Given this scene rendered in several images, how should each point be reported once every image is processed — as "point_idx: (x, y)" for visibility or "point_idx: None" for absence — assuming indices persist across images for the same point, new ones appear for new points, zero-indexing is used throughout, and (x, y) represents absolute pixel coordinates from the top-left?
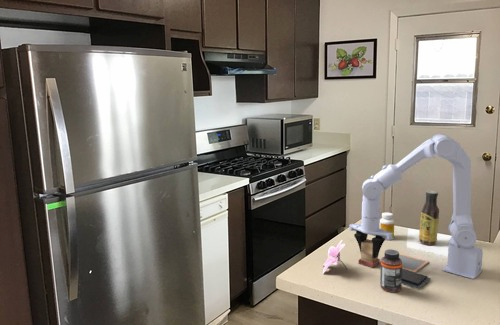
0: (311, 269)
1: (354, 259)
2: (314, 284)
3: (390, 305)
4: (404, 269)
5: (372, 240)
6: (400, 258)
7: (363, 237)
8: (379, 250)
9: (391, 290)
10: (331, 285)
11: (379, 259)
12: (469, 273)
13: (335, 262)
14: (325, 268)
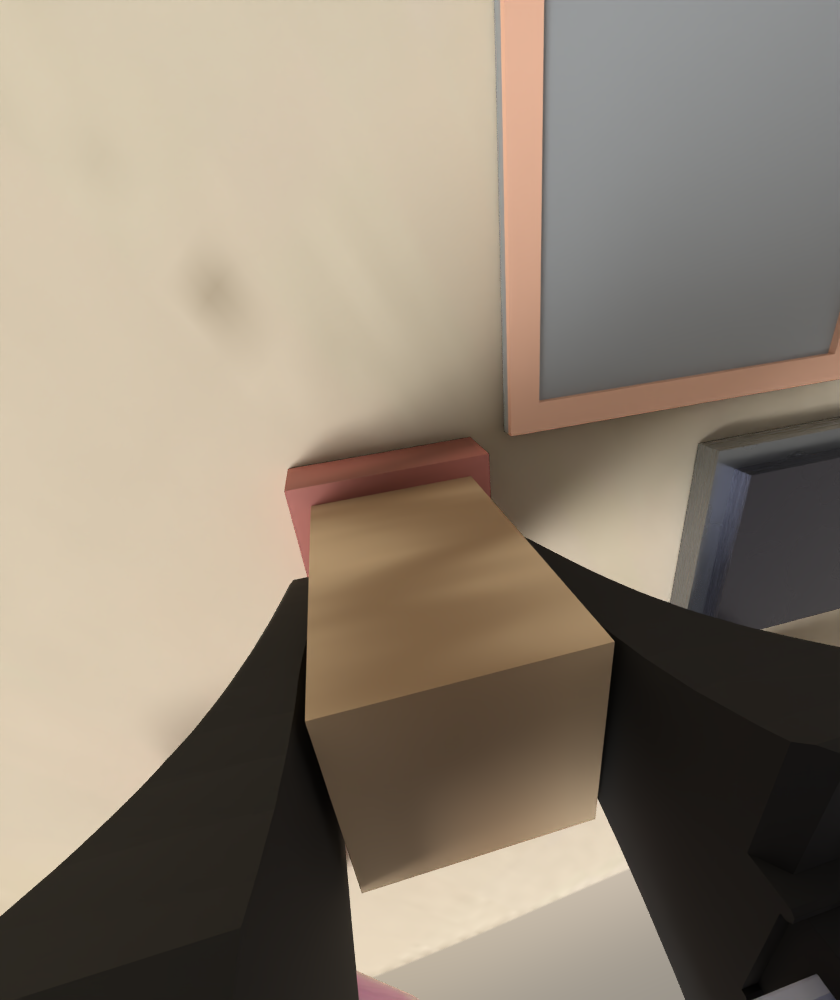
0: None
1: (206, 576)
2: (370, 952)
3: None
4: (790, 467)
5: (694, 988)
6: (623, 67)
7: (333, 951)
8: (576, 570)
9: None
10: (442, 900)
11: (487, 460)
12: None
13: (378, 988)
14: None
